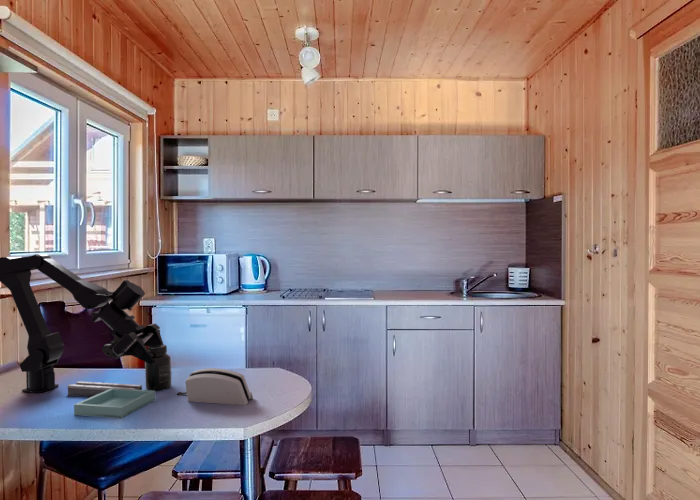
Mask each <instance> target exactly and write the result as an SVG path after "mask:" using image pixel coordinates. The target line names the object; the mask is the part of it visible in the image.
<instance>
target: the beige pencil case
mask: <svg viewBox="0 0 700 500" xmlns="http://www.w3.org/2000/svg"><path fill="white" fill-rule="evenodd" d="M185 388H186V389H185V390H186V392H187V394H186V395H187V396H186V398H187V402H193V403H194V402H195V403H209V404H220V405H221V404H222V405H223V404H224V405H236V406H237V405H239V406H247V405H248V403H249V401H248V400H253V399H254V396H253V393H252V391H250V389H249V386H248V384H247V380H246V379H245V376H244V375H243V374H242V373H240V372H236V371H233V370H229V369H225V368H224V369H223V368H213V367H212V368H209V367H208V368H201V369H197V370H195V371H192V372H191V373H190V374H189V376H188V377H187V378H186V380H185Z"/></svg>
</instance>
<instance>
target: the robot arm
mask: <svg viewBox="0 0 700 500" xmlns="http://www.w3.org/2000/svg"><path fill="white" fill-rule="evenodd" d="M34 270H35V271H36V270H37V271H39V272H40V273H42V274H43V275H45V276H46V277H47V278H49V279H50V280H52V281H54V282H55V283H56V284H58V285H59V286H61V287H62V288H64V289H66V290H67V291H68V292H69V293H70V294H71V295H72V297H73V298H74V300H75V302H77V303H78V304H79V305H80V306H81V307H82V308H83V309H86V310H92V309H97V308H100V309H99V310H97V311H94V312H93V311H92V313H91V314H92V317H91V322H92V323H96V322H99V321H103V322H104V323H105V325H107V326H108V327H109V328H110V330H111V332H110V333H111V336H112V337H113V339H112V340H111V341H110V342H109V343H106V344H104V345H103V346H102V348H101V351H102V352H103V354H104V355H105V356H106V358H108V359H109V358H113V359H115V360H119V358H122V357H126V356H128V357H131V356H132V357H135V358H136V359H138V360H140V361H143V362H144V363H145V362H147V363H149V364H152V363H153V362H154V361H153V359H152V357H151V355H150V353H149V350H148V348H147V347H150V346H154V345H165V344H164V342H163V339H162V334H161V330H160V329H161V327H160V326H159V325H158V324H157V323H151V324H148V325H146V326H145V325H144V324H142V325H140V324H139V323H138V322H137V321H135V318H136V317H135V315H129V314H128V313H127V312H126V311H125V310H132V309H133V308H134V307H135V306H136V305H137V303H138V302H139V301H140V300H142V298H143V297H144V296H145V295H146V292H145V290H143V288H142V287H141V286H139V285H138V284H135V283H134V282H131V281H130V280H129V279H125V280H124V279H123V281H122V282H121V283H120V285H119V286H118V287H117V288H116V289H115V290H114V291H111V290H108V289H107V288H105V287H104V286H101V285H99V284H96V283H93V282H90V281H86V280H85V279H83V278H81V277H80V276H78V275H77V274H75V273H74V272H72V271H71V270H69V269H68V268H67V267H65V266H63V265H62V264H61V263H59V262H57V260H55V259H53V258H52V257H51V256H50V255H49V254H45V253H43V254H42V253H39V254H33V255H29V256H24V257H23V256H3V257H0V283H1V284H2V285H4V286H5V287H6V288H7V289H8V290H9V292H10V294H11V296H12V300H13V301H14V304H15V306H16V308H17V311H18V314H19V316H20V318H21V321H22V324H23V326H24V328H25V330H26V333H27V335H28V340H27V345H26V350H27V352H28V353H27V354H28V355H27V356H26V358H24V360H23V361H22V362H20V363H19V368H20V370H21V372H23V373H25V374H26V375H25V376H26V387H25V388H23V389H21V392H22V393H37V394H39V393H43V392H46V391H49V390H52V389H54V388H55V389H56V388H57V387H59V385H60V384H58V383H56V376H55V375H56V373H55V366H54V365H57V364H58V362H59V360H60V358H61V357H62V356H63V353H64V350H65V348H64V346H65V345H66V344H65V343H64V341H63V340H62V337H61V334H60V332H52V331H51V330H50V329H49V327H48V326H47V323H46V320H45V318H44V316H43V312H42V311H41V308H40V306H39V304H38V301H37V298H36V296H35V294H34V291H33V289H32V286H31V284H30V283H31V278H32V271H34ZM166 354H168V353H167V352H166Z"/></svg>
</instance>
